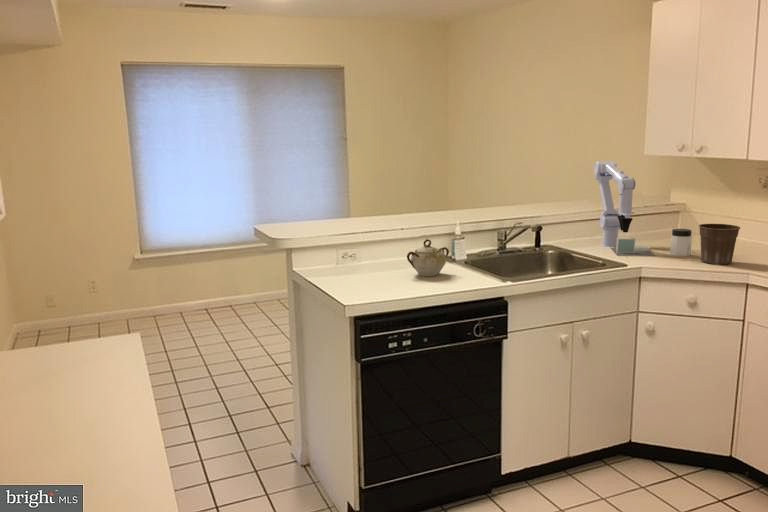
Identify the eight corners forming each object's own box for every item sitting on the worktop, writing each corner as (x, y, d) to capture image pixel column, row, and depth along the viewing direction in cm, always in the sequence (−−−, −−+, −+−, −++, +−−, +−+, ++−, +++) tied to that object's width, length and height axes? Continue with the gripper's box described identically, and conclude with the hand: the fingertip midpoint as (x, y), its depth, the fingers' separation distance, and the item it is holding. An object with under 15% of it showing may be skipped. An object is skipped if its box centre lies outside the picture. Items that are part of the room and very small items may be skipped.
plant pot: (742, 266, 272) (745, 229, 269) (700, 265, 275) (703, 228, 272) (731, 259, 287) (734, 223, 284) (692, 258, 291) (694, 223, 288)
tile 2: (629, 248, 315) (630, 245, 315) (647, 248, 313) (647, 245, 313) (632, 251, 308) (632, 247, 308) (650, 251, 307) (650, 248, 306)
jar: (685, 257, 293) (687, 231, 291) (667, 255, 299) (669, 230, 296) (693, 254, 299) (694, 229, 297) (675, 252, 305) (676, 228, 302)
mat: (610, 248, 319) (610, 247, 318) (646, 249, 315) (646, 248, 315) (617, 257, 297) (617, 255, 297) (656, 257, 294) (656, 256, 294)
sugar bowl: (415, 280, 258) (415, 243, 255) (399, 273, 271) (398, 238, 268) (457, 275, 266) (457, 239, 263) (439, 268, 279) (439, 234, 276)
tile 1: (616, 252, 306) (617, 237, 305) (633, 252, 305) (634, 237, 304) (616, 252, 305) (617, 238, 304) (634, 253, 303) (635, 238, 302)
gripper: (637, 204, 299) (635, 233, 301) (631, 201, 313) (630, 229, 315) (621, 204, 300) (620, 233, 303) (616, 201, 314) (615, 229, 317)
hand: (624, 231), depth 309 cm, fingers open, 5 cm apart
